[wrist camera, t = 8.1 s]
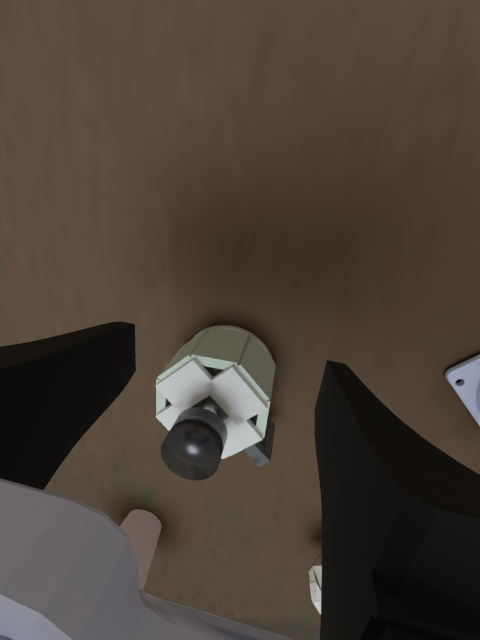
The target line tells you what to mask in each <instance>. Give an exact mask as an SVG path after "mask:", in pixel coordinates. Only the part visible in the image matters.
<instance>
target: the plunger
mask: <svg viewBox="0 0 480 640" xmlns="http://www.w3.org/2000/svg"><path fill="white" fill-rule="evenodd" d="M204 367H205V369H206V370H207V371H208V372H209V373H210V374H211V376H212V377H214V376H216V375H217V374H219V373H220V372H222V371H223V369H218V368H212V367H207V366H204ZM206 399H207V400H206V402H205V404H204V406H203V408H189V409H186V410H184V411H183V412H181V413H180V414H179V416H178V417H177V419H176V421H175V422H174V424H173V426H172V428H171V429H170V431H169V433H168V435H167V437H166V438H165V440H164V442H163V444H162V446H161V456H162V459H163V461H164V463H165V464H166V466H167V467H168V468H169V469H170V470H171V471H172V472H174V473H175V474H177V475H178V476H180V477H183V478H186V479H189V480H203V479H207V478H209V477H211V476H212V475H213V474H214V473H215V472H216V470H217V468H218V465H219V462H220V459H221V456H222V453H223V450H224V446H225V443H226V440H227V436H228V432H227V428H226V425H225V423H224V422H223V420H222V419H221V418H220V417H219V416H218V415H217V411H218V409H219V405H218V404H217V403H216V401H215V400H214V399H213V398H212V397H211V396H208V397H206Z"/></svg>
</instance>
